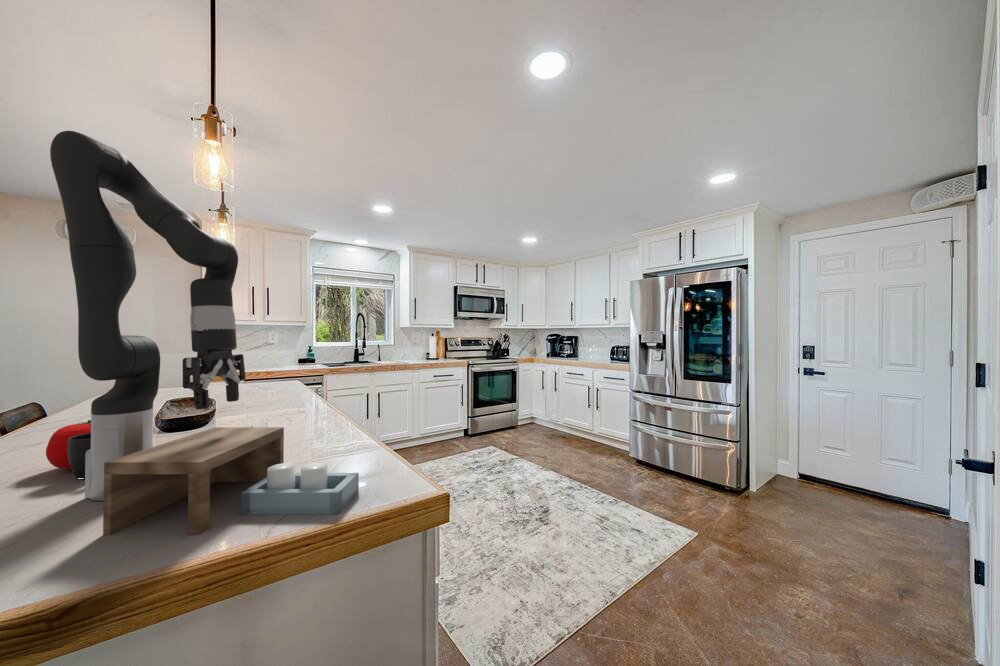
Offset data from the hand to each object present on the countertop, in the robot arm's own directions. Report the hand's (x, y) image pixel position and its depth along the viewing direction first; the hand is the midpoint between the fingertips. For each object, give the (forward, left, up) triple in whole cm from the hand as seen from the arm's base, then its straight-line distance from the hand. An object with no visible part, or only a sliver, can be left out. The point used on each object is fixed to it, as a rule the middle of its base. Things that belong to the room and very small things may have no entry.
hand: (218, 404), depth 78 cm
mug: (-36, +10, -19) cm, 41 cm away
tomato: (-46, +17, -19) cm, 52 cm away
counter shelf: (+1, -4, -19) cm, 19 cm away
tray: (+20, -4, -19) cm, 28 cm away
